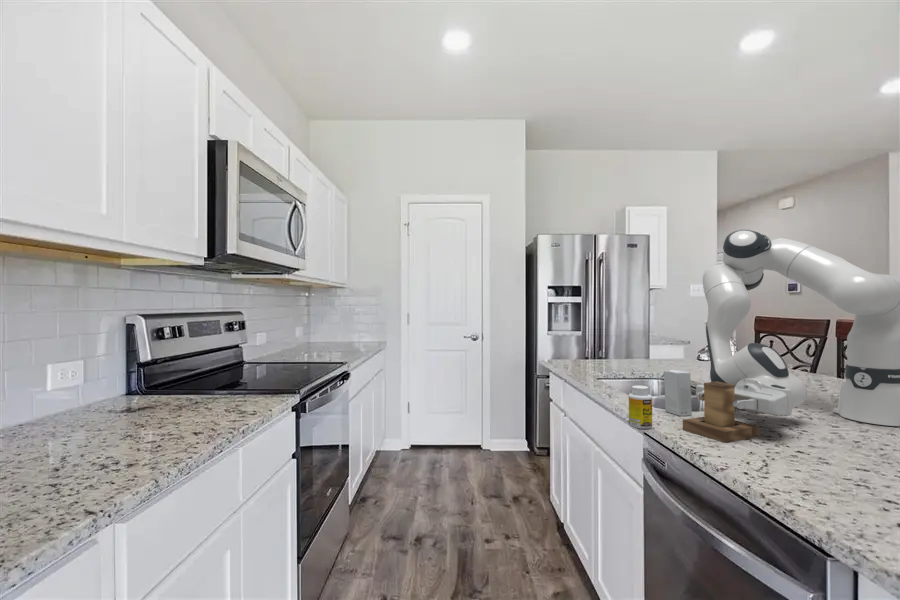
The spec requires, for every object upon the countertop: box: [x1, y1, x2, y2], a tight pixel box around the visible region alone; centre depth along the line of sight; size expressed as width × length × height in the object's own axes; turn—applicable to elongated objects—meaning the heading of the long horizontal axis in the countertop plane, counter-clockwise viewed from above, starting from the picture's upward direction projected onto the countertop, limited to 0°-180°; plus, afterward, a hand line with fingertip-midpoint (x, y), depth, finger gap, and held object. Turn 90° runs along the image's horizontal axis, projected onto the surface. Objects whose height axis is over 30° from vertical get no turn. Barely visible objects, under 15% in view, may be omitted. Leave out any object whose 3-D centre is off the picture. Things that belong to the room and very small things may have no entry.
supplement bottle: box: [628, 385, 653, 430], centre depth 114 cm, size 6×6×10 cm
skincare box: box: [663, 369, 693, 417], centre depth 127 cm, size 6×4×12 cm
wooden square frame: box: [682, 416, 760, 443], centre depth 108 cm, size 11×11×2 cm
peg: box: [703, 381, 736, 427], centre depth 108 cm, size 5×5×12 cm
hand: (716, 400), depth 107 cm, fingers open, 8 cm apart
